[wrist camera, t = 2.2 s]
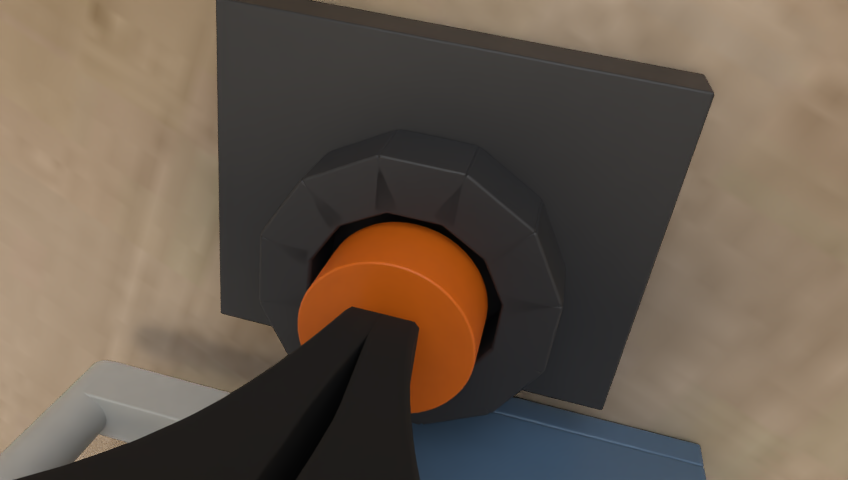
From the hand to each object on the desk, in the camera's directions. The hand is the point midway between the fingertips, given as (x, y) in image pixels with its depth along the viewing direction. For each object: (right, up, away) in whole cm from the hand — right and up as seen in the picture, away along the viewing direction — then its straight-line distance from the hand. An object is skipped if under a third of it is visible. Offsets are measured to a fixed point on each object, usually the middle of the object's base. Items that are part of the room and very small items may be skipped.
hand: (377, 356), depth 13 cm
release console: (+1, +3, +4) cm, 5 cm away
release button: (0, +1, +2) cm, 2 cm away
